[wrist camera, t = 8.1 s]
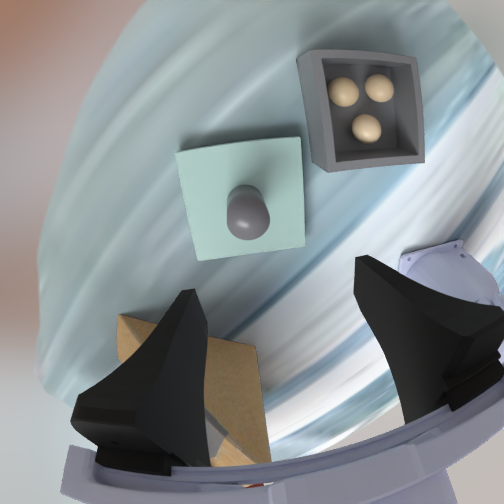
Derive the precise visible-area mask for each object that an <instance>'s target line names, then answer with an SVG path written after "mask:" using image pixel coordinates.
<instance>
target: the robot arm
mask: <svg viewBox="0 0 504 504" xmlns="http://www.w3.org/2000/svg"><path fill="white" fill-rule="evenodd" d="M408 258H409V259H408ZM354 296H355V298H356V301H357V303H358V305H359V308H360V310H361V312H362V314H363V316H364V317H365V319H366V321H367V323H368V325H369V326H370V328H371V330H372V332H373V333H374V335H375V337H376V339H377V340H378V342H379V344H380V346H381V348H382V350H383V352H384V354H385V357H386V359H387V362H388V364H389V367H390V370H391V373H392V376H393V379H394V382H395V385H396V388H397V391H398V395H399V399H400V402H401V407H402V411H403V416H404V420H405V425H404V426H401V427H399V428H396V429H394V430H391V431H389V432H386V433H384V434H381V435H378V436H376V437H373V438H370V439H367V440H364V441H361V442H358V443H355V444H351V445H348V446H345V447H341V448H338V449H334V450H330V451H326V452H322V453H318V454H313V455H309V456H304V457H299V458H294V459H288V460H282V461H276V462H268V463H260V464H251V465H240V466H224V467H211V462H210V456H209V449H208V442H207V433H206V422H205V408H204V378H205V367H206V357H207V345H208V330H207V320H206V318H205V315H204V312H203V310H202V307H201V305H200V302H199V299H198V297H197V294H196V291H195V289H189V290H183V291H181V292H180V293H179V295H178V296H177V298H176V299H175V301H174V302H173V304H172V305H171V307H170V308H169V310H168V311H167V312H166V314H165V315H164V317H163V318H162V320H161V321H160V322H159V324H158V325H157V326H156V327H155V329H154V330H153V331H152V333H151V334H150V335H149V337H148V338H147V339H146V340H145V341H144V342H143V344H142V345H141V346H140V347H139V348H138V349H137V350H136V351H135V352H134V353H133V354H132V355H131V356H130V357H129V358H128V359H127V360H126V361H125V362H124V363H122V364H121V365H120V366H119V367H118V368H117V369H116V370H115V371H113V372H112V373H111V374H109V375H108V376H107V377H105V378H104V379H103V380H101V381H100V382H99V383H97V384H96V385H94V386H92V387H91V388H89V389H88V390H86V391H84V392H83V393H81V394H79V395H78V398H77V401H76V404H75V407H74V410H73V414H72V417H71V420H70V421H71V425H72V426H73V428H74V429H75V430H76V431H77V432H79V433H80V434H81V435H83V436H84V437H86V438H87V439H88V440H90V441H91V442H92V443H94V444H95V445H97V446H98V449H97V452H95V451H93V450H90V449H86V448H82V447H78V446H74V445H70V446H69V450H68V454H67V459H66V463H65V468H64V473H63V479H62V484H61V491H60V492H61V494H63V495H65V496H68V497H70V498H72V499H75V500H78V501H80V502H83V503H86V504H458V503H457V500H456V497H455V494H454V491H453V488H452V485H451V482H450V480H449V477H448V474H447V471H446V468H448V467H449V466H451V465H452V464H454V463H456V462H457V461H459V460H460V459H462V458H464V457H465V456H467V455H468V454H470V453H471V452H472V451H474V450H475V449H477V448H478V447H479V446H481V445H482V444H483V443H485V442H486V441H487V440H489V439H490V438H491V437H493V435H495V434H496V433H498V432H499V431H500V430H501V429H502V428H503V430H504V295H503V294H500V292H499V288H498V285H497V282H496V280H495V278H494V277H493V275H492V274H491V273H490V272H489V271H488V270H487V269H485V268H484V267H483V266H482V265H481V264H480V263H479V262H478V261H477V260H475V259H474V258H473V257H472V256H471V255H470V254H469V253H467V252H466V251H465V250H464V249H463V241H462V240H461V239H460V240H456V241H452V242H449V243H445V244H441V245H438V246H434V247H430V248H426V249H422V250H419V251H415V252H411V253H407V254H404V255H402V256H401V258H400V263H399V270H398V272H397V271H396V270H394V269H392V268H390V267H389V266H387V265H385V264H384V263H382V262H380V261H378V260H377V259H375V258H373V257H371V256H369V255H364V256H359V257H355V276H354ZM269 482H274V483H273V484H272V485H266V486H259V487H253V488H245V487H243V486H242V485H250V484H261V483H269Z"/></svg>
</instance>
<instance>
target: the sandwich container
mask: <svg viewBox="0 0 504 504" xmlns="http://www.w3.org/2000/svg"><path fill="white" fill-rule="evenodd" d="M157 325H158V324H154V323H150V322H146V321H142V320H139V319H135V318H131V317H128V316H124V315H121V314H119V315H118V324H117V354H118V358H119V360H120V361H121V363H124V362H125V361H126V360H127V359H128V358H129V357H130V356H131V355H132V354H133V353H134V352H135V351H136V350H137V349H138V348H139V347H140V346H141V345H142V344H143V342H144V341H145V340H146V339H147V338H148V337H149V335H150V334H151V333H152V331H153V330H154V329H155V327H156V326H157ZM204 408H205V422H206V433H207V442H208V449H209V456H210V462H211V466H212V467H224V466H240V465H251V464H260V463H268V462H272V461H271V454H270V447H269V440H268V433H267V426H266V419H265V412H264V405H263V398H262V390H261V383H260V376H259V369H258V361H257V354H256V347H255V346H251V345H246V344H242V343H237V342H232V341H228V340H223V339H219V338H214V337H210V336H208V345H207V357H206V367H205V378H204ZM250 485H253V484H250ZM250 485H242V486H243V487H248V486H250Z"/></svg>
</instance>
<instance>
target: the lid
mask: <svg viewBox="0 0 504 504" xmlns="http://www.w3.org/2000/svg"><path fill="white" fill-rule="evenodd" d="M175 156H176V162H177V167H178V172H179V178H180V183H181V188H182V193H183V198H184V202H185V207H186V212H187V217H188V221H189V226H190V230H191V235H192V239H193V243H194V248H195V252H196V256H197V260H198V261H202V260H209V259H217V258H224V257H232V256H239V255H247V254H254V253H261V252H269V251H276V250H283V249H291V248H298V247H305V218H304V190H303V170H302V153H301V138H300V137H299V136H291V137H278V138H267V139H257V140H248V141H239V142H232V143H224V144H218V145H211V146H205V147H199V148H193V149H188V150H182V151H177V152H176V153H175Z"/></svg>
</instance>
